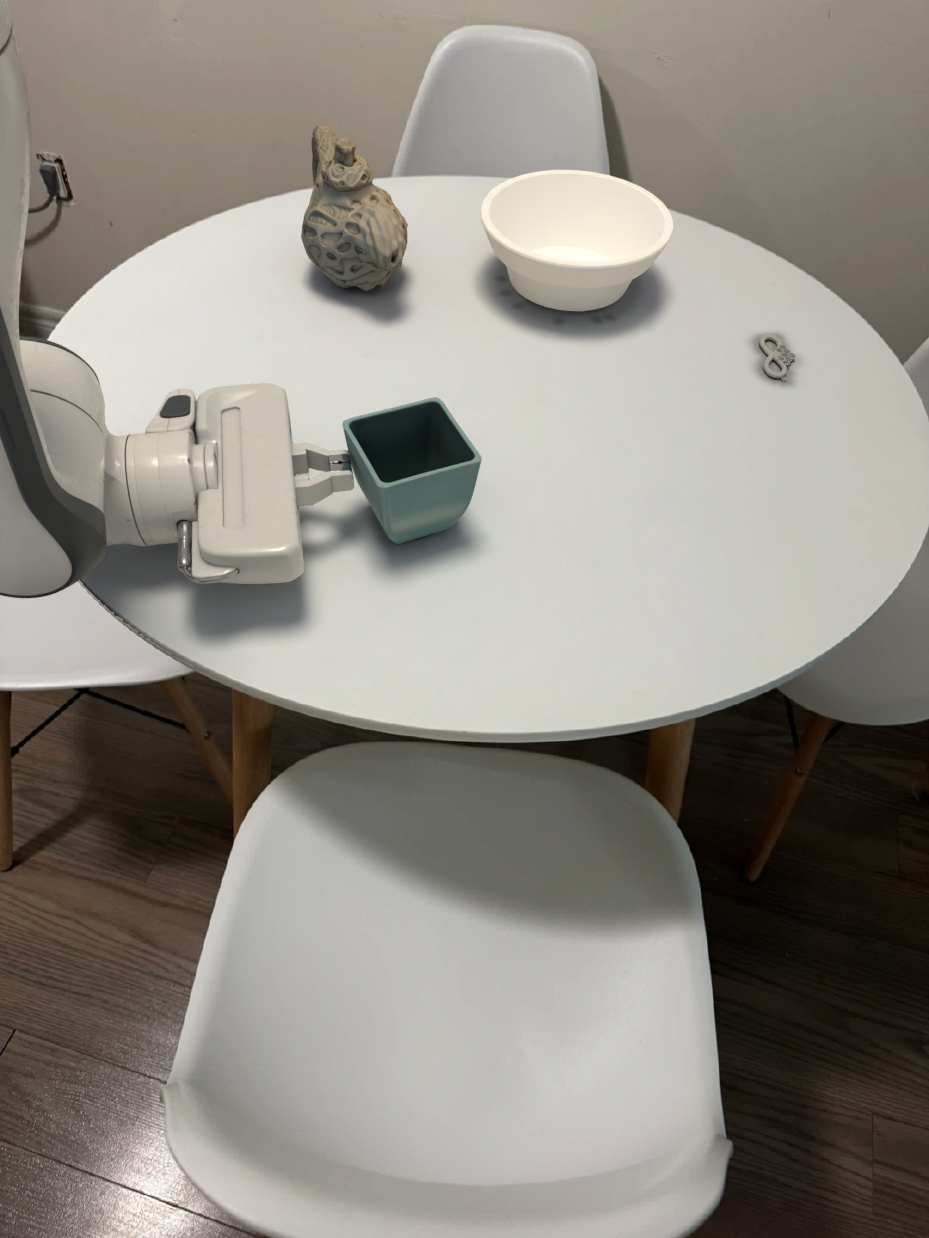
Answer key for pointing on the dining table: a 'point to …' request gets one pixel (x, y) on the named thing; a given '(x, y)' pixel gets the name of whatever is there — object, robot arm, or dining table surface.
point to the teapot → (350, 217)
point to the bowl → (574, 235)
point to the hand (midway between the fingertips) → (352, 469)
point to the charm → (776, 356)
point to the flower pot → (413, 467)
